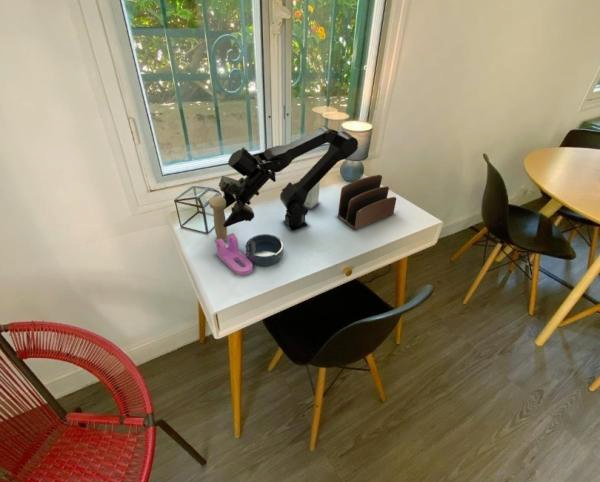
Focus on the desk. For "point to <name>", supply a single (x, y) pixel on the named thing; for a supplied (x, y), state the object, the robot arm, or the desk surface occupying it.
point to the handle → (219, 216)
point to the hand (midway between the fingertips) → (221, 218)
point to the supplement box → (312, 196)
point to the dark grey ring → (264, 250)
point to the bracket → (233, 255)
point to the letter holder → (365, 202)
